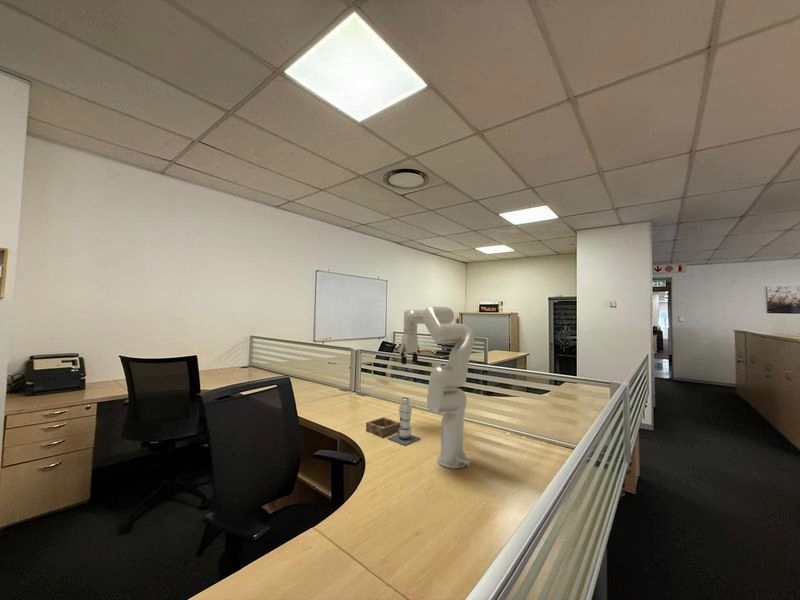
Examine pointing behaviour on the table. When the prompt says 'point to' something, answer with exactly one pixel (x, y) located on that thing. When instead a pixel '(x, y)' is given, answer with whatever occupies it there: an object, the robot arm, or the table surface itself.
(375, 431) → the box
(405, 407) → the plastic bottle
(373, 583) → the table surface
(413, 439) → the mat
